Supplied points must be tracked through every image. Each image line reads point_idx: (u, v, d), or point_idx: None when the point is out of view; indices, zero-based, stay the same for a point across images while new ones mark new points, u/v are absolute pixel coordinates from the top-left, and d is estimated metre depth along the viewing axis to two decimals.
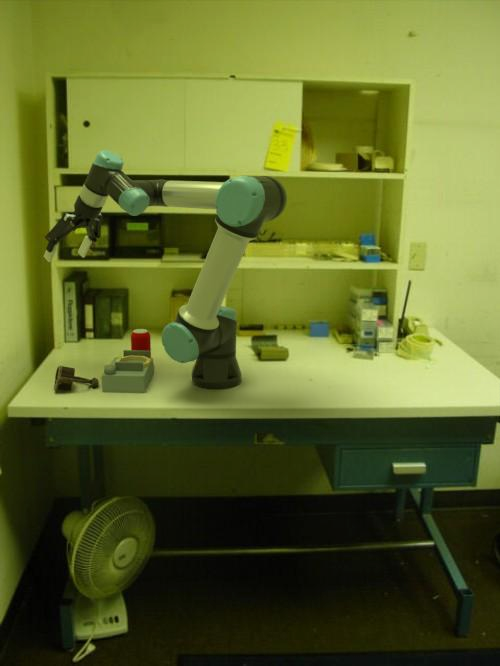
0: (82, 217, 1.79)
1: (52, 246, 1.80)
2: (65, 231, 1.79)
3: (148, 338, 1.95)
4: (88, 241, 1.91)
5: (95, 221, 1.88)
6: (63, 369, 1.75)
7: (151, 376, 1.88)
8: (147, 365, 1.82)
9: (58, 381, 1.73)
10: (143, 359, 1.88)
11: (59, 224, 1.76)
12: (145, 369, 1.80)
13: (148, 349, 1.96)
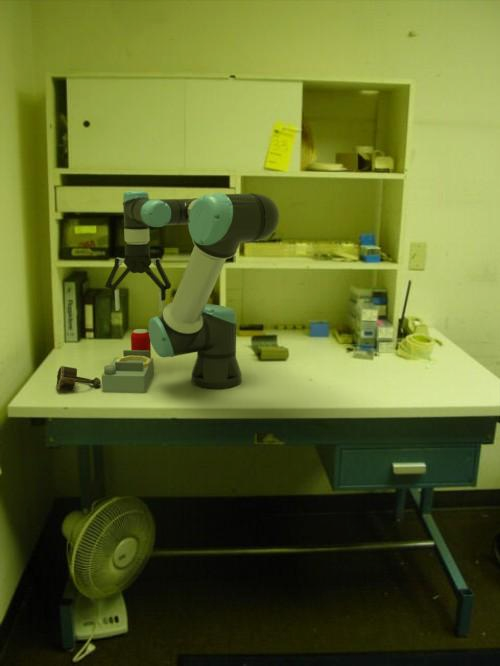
0: (131, 259, 1.88)
1: (113, 292, 1.91)
2: (120, 276, 1.90)
3: (148, 338, 1.95)
4: None
5: None
6: (65, 369, 1.75)
7: (151, 376, 1.88)
8: (147, 365, 1.82)
9: (61, 381, 1.73)
10: (143, 359, 1.88)
11: None
12: (145, 369, 1.80)
13: (148, 349, 1.96)
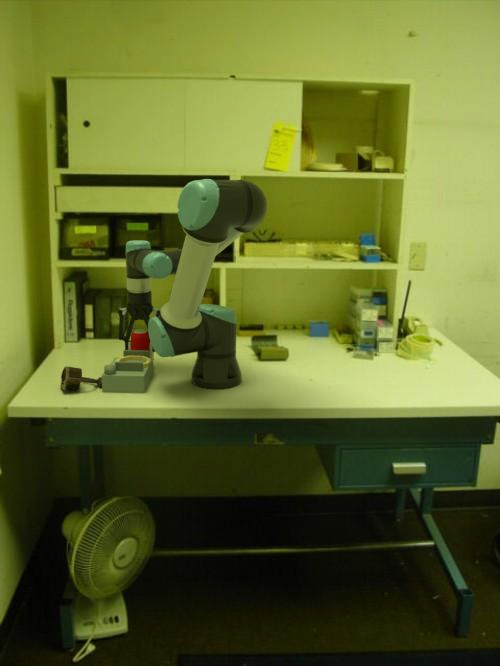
0: (132, 305, 1.92)
1: (126, 344, 1.96)
2: None
3: (148, 338, 1.95)
4: None
5: None
6: (70, 370, 1.75)
7: (151, 376, 1.88)
8: (147, 365, 1.82)
9: (66, 382, 1.73)
10: (143, 359, 1.88)
11: None
12: (145, 369, 1.80)
13: (148, 349, 1.96)
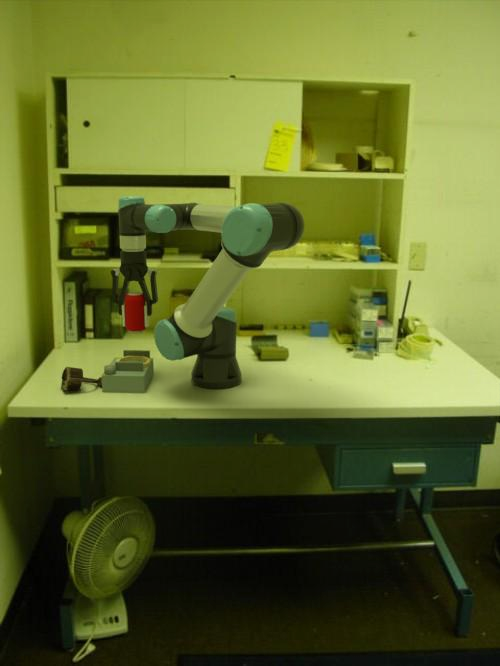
0: (126, 265, 1.81)
1: (120, 308, 1.85)
2: (122, 288, 1.84)
3: (143, 301, 1.84)
4: None
5: None
6: (71, 370, 1.74)
7: (151, 376, 1.88)
8: (147, 365, 1.82)
9: (68, 382, 1.73)
10: (143, 359, 1.88)
11: None
12: (145, 369, 1.80)
13: (143, 312, 1.84)
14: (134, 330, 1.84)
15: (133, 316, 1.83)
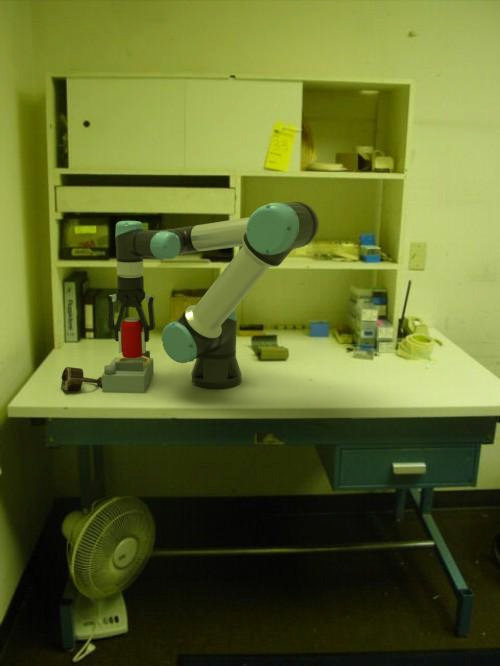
0: (123, 291, 1.78)
1: (116, 334, 1.82)
2: (119, 314, 1.80)
3: (140, 327, 1.80)
4: None
5: None
6: (71, 370, 1.74)
7: (151, 376, 1.88)
8: (147, 365, 1.82)
9: (68, 382, 1.73)
10: (143, 359, 1.88)
11: None
12: (145, 369, 1.80)
13: (140, 339, 1.81)
14: (131, 357, 1.81)
15: (130, 343, 1.80)
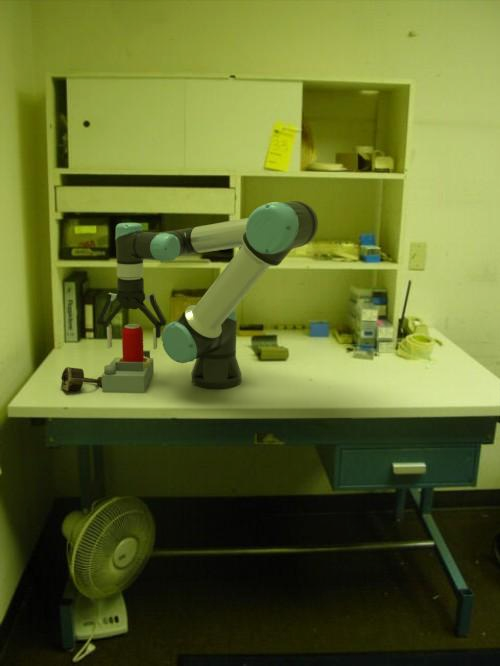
0: (124, 295, 1.78)
1: (105, 329, 1.81)
2: None
3: (140, 334, 1.81)
4: None
5: None
6: (72, 370, 1.74)
7: (151, 376, 1.88)
8: (147, 365, 1.82)
9: (69, 382, 1.73)
10: None
11: None
12: (145, 369, 1.80)
13: (140, 345, 1.82)
14: None
15: (131, 349, 1.80)
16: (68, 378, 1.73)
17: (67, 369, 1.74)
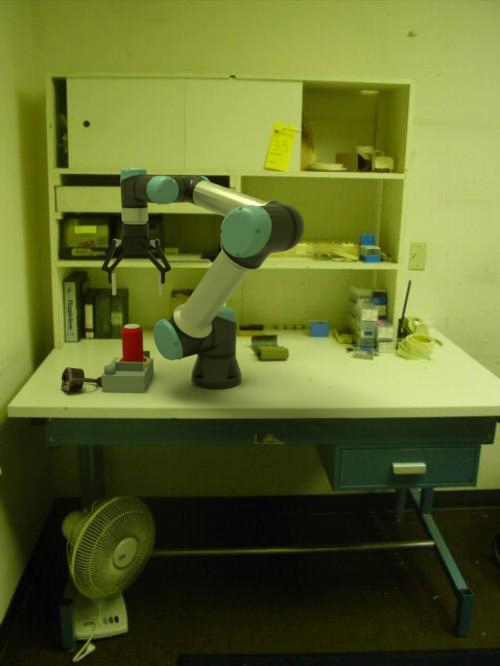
0: (129, 240, 1.79)
1: (109, 276, 1.82)
2: (117, 258, 1.80)
3: (140, 334, 1.81)
4: (158, 275, 1.82)
5: None
6: (72, 370, 1.74)
7: (151, 376, 1.88)
8: (147, 365, 1.82)
9: (70, 382, 1.73)
10: None
11: None
12: (145, 369, 1.80)
13: (140, 345, 1.82)
14: None
15: (131, 349, 1.80)
16: (69, 378, 1.72)
17: (67, 369, 1.74)
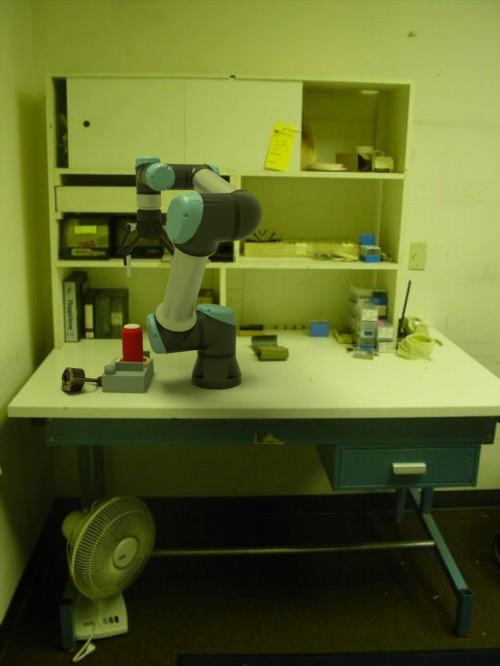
0: (143, 225, 1.90)
1: (125, 258, 1.93)
2: (132, 242, 1.91)
3: (140, 334, 1.81)
4: None
5: None
6: (73, 370, 1.74)
7: (151, 376, 1.88)
8: (147, 365, 1.82)
9: (71, 382, 1.73)
10: None
11: None
12: (145, 369, 1.80)
13: (140, 345, 1.82)
14: None
15: (131, 349, 1.80)
16: (70, 378, 1.72)
17: (68, 369, 1.74)
